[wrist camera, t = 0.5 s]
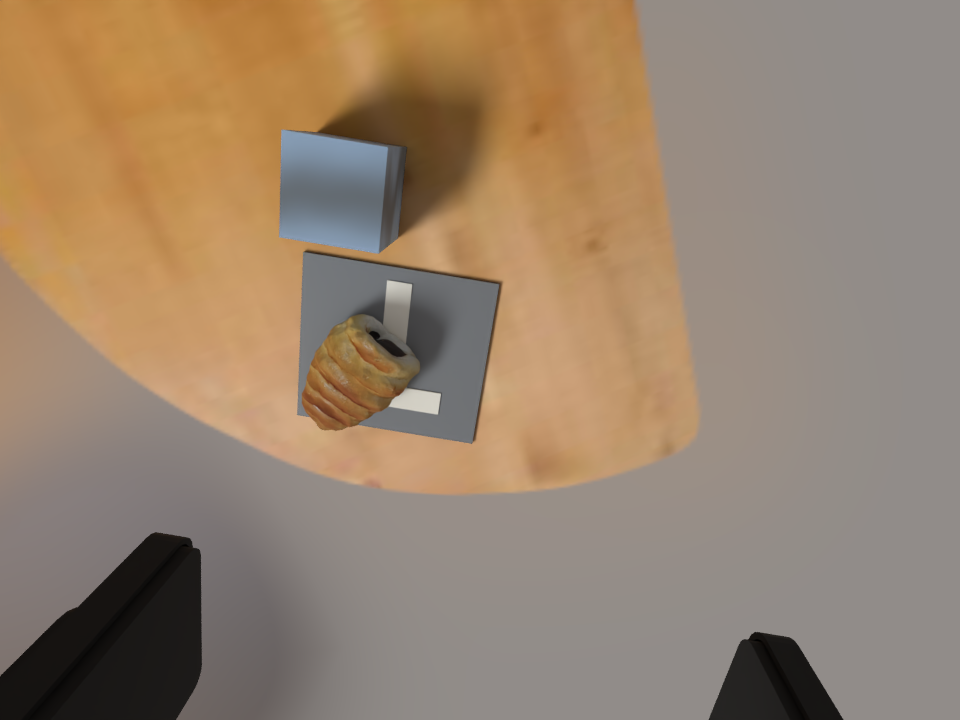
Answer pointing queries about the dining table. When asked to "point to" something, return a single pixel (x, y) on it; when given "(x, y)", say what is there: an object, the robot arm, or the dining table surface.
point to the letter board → (407, 336)
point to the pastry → (356, 373)
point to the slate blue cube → (340, 190)
